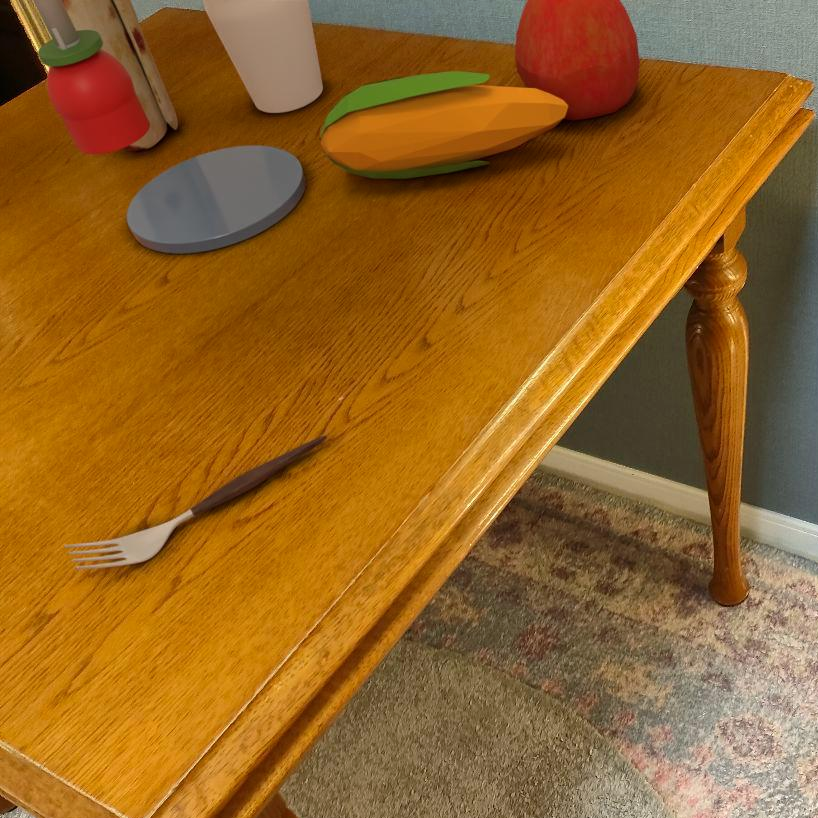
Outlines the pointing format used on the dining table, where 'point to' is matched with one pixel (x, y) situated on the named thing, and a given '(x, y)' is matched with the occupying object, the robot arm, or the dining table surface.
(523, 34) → the apple
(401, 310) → the dining table surface
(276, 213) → the plate
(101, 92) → the strawberry fork
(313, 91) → the cup
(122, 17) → the food model
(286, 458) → the fork
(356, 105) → the corn
